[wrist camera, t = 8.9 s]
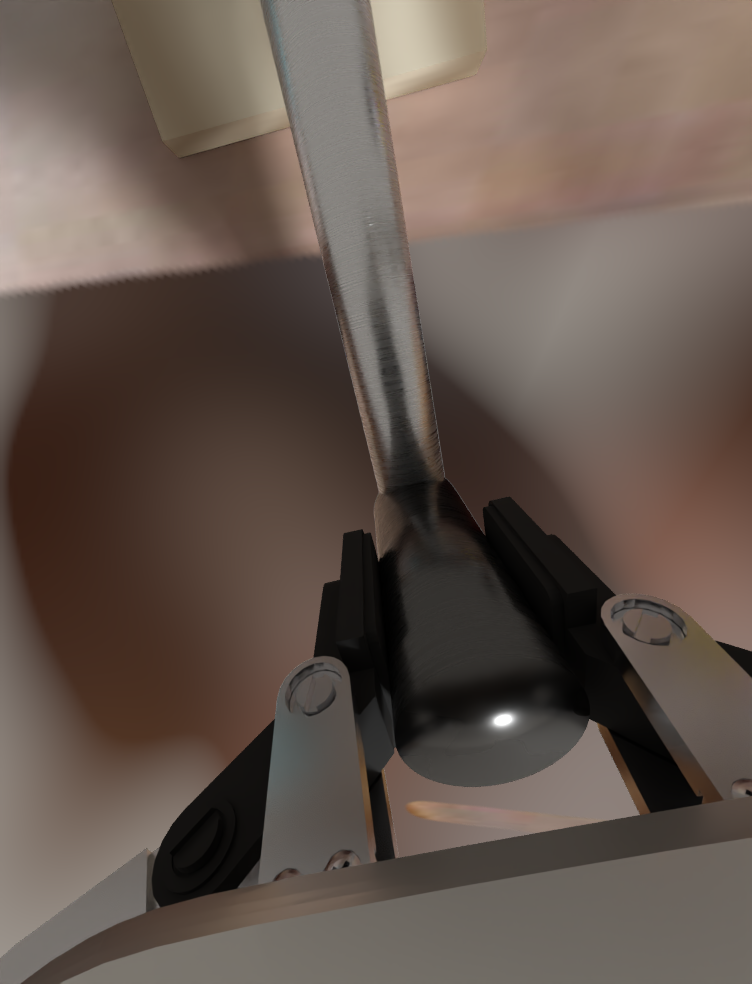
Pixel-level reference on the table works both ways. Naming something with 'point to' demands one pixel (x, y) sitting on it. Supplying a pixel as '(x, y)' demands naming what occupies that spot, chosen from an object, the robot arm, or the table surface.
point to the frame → (250, 64)
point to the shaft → (413, 437)
